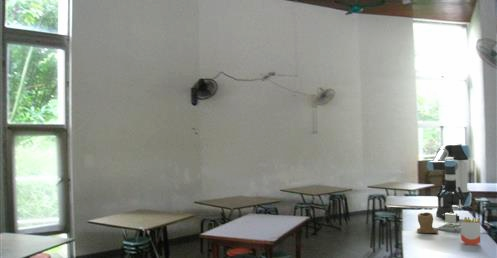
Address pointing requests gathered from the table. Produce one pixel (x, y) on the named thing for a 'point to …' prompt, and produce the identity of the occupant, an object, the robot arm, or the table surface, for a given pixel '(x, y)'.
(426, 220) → the stone cup
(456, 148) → the robot arm
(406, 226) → the table surface
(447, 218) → the pneumatic valve
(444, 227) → the docking tray
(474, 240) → the french fries container
